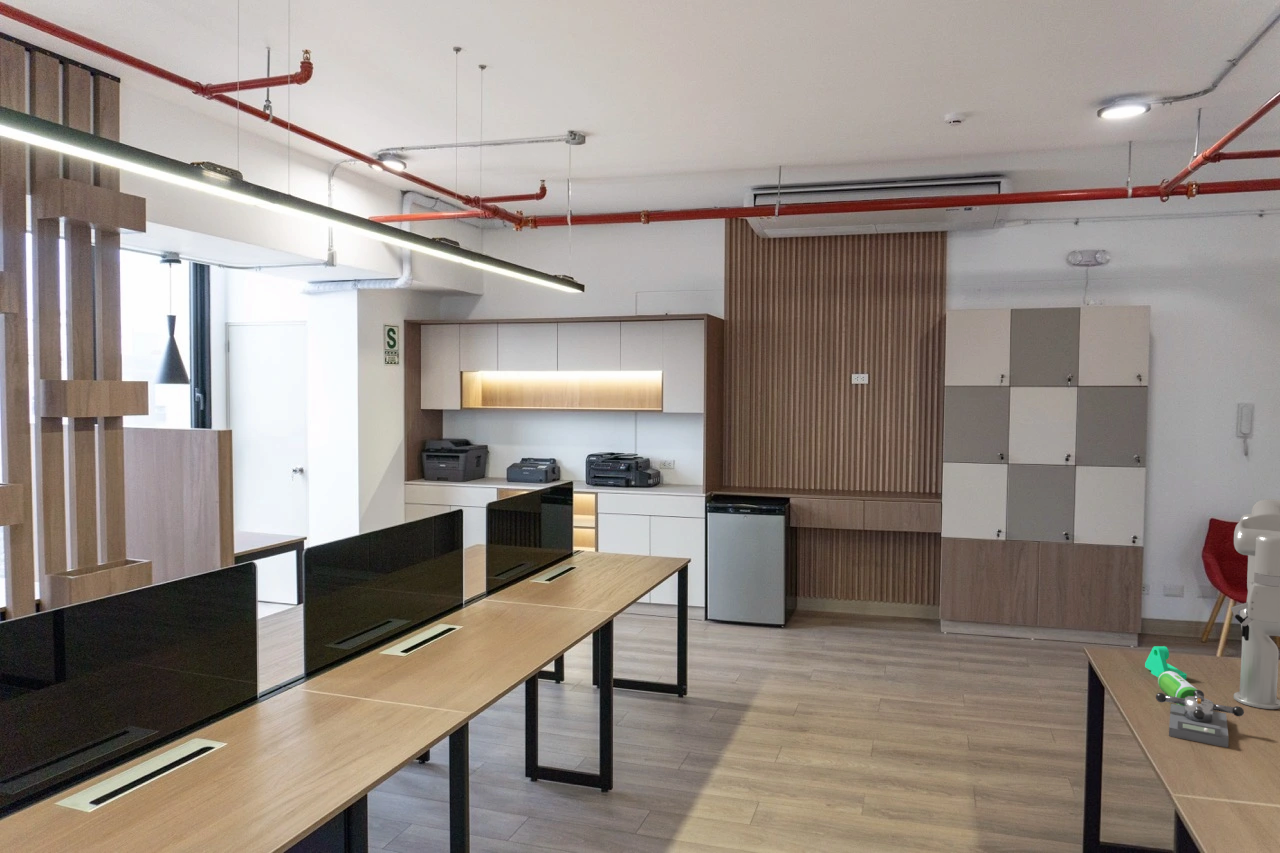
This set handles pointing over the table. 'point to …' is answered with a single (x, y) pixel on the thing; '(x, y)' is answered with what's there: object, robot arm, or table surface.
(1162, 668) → the camera mount
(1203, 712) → the capstan
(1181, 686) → the speaker
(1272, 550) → the robot arm
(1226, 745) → the stand
